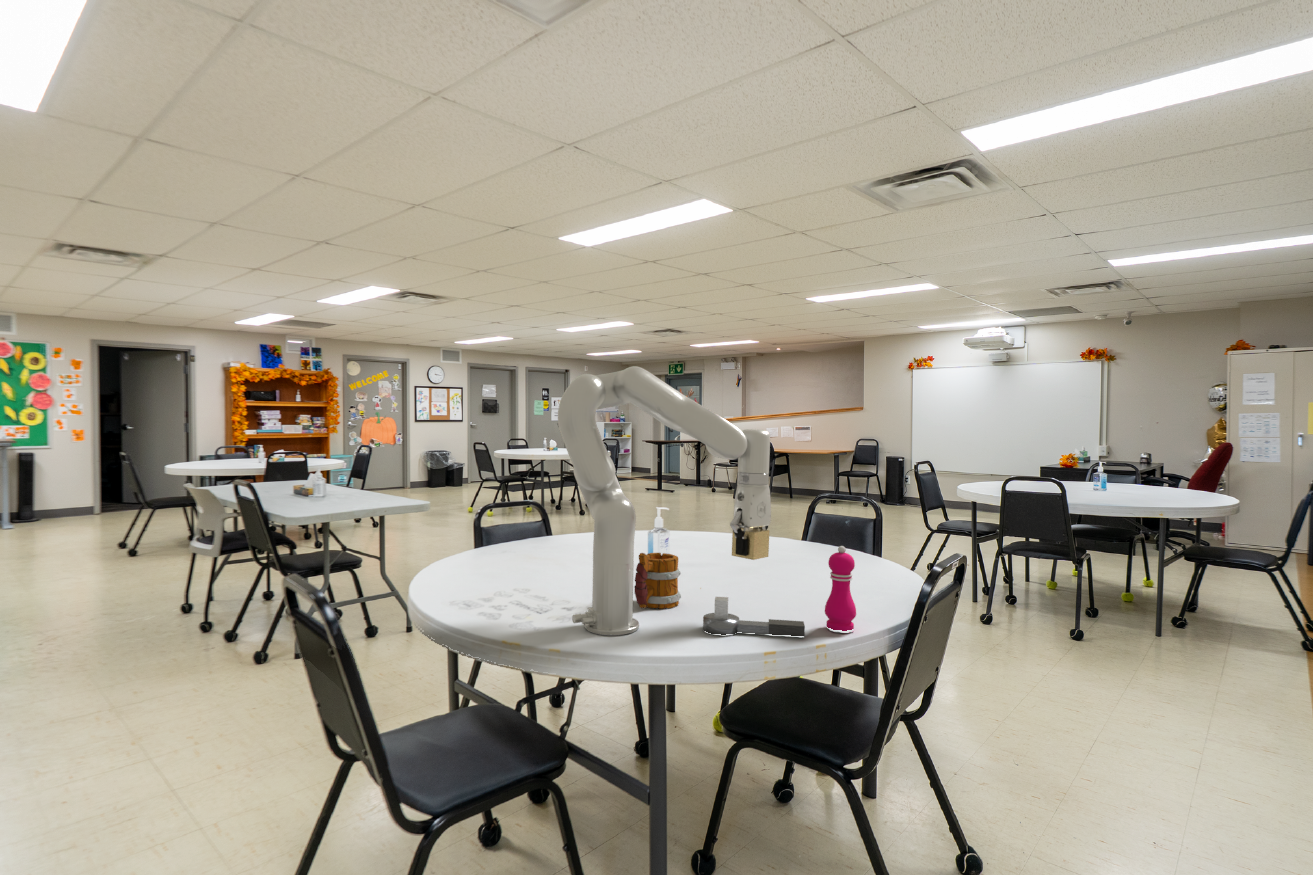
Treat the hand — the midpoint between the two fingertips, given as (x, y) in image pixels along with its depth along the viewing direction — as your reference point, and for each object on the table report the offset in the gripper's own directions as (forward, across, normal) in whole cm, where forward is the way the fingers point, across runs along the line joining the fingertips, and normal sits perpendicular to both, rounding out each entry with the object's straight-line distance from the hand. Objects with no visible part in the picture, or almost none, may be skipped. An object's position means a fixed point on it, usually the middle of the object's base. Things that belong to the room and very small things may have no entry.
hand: (750, 552), depth 158 cm
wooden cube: (+1, 0, 0) cm, 1 cm away
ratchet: (+17, -6, -6) cm, 19 cm away
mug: (+18, -6, +26) cm, 32 cm away
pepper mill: (+17, +11, -19) cm, 28 cm away
